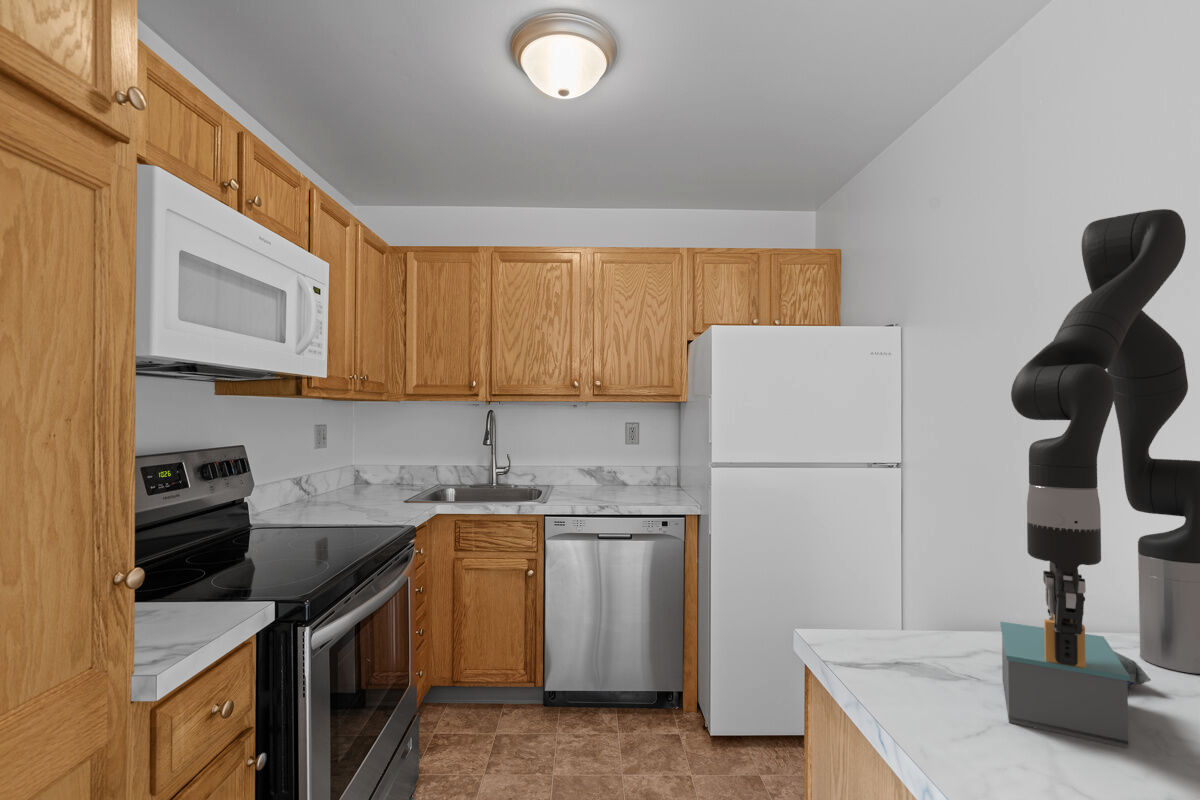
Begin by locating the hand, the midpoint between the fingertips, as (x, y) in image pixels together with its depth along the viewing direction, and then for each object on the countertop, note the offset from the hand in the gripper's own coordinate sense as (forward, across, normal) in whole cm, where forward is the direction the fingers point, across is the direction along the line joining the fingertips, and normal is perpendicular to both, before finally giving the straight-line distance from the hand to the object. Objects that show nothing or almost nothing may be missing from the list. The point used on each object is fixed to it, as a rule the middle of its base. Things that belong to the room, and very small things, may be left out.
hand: (1064, 659), depth 79 cm
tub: (+9, +7, 0) cm, 12 cm away
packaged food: (+9, +24, -6) cm, 26 cm away
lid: (+1, +7, 0) cm, 7 cm away
